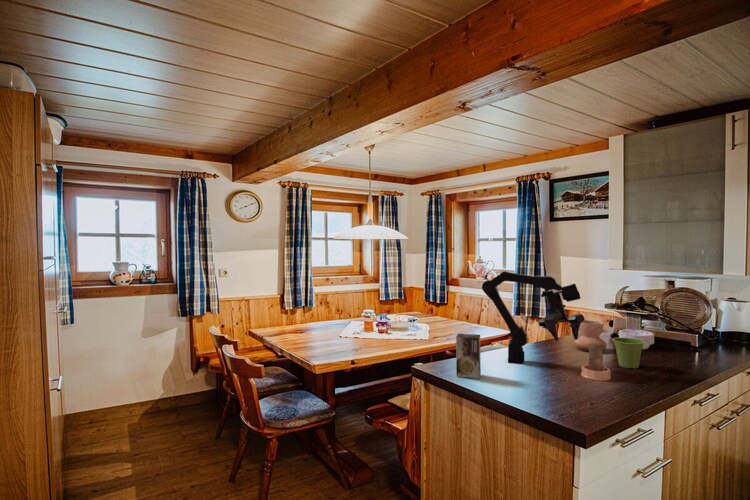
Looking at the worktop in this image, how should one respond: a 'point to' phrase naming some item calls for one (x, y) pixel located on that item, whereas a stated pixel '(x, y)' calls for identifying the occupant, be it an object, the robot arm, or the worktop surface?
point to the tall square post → (596, 356)
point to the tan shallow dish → (596, 373)
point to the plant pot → (628, 351)
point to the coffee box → (468, 355)
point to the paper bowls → (638, 336)
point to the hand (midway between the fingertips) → (566, 339)
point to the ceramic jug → (589, 334)
